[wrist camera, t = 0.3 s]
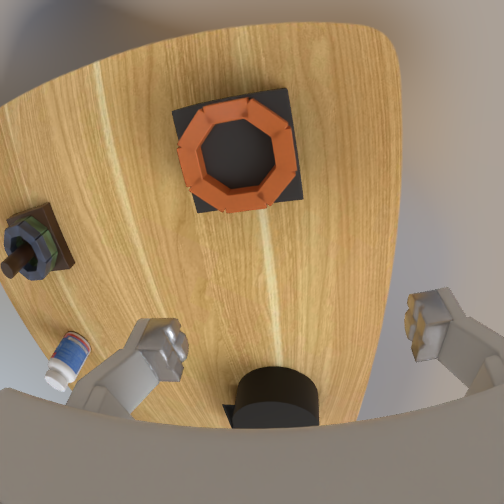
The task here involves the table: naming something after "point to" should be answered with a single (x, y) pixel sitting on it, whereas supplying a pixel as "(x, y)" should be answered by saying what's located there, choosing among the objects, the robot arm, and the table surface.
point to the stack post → (35, 244)
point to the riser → (242, 147)
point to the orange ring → (216, 190)
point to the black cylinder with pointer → (274, 400)
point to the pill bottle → (67, 361)
